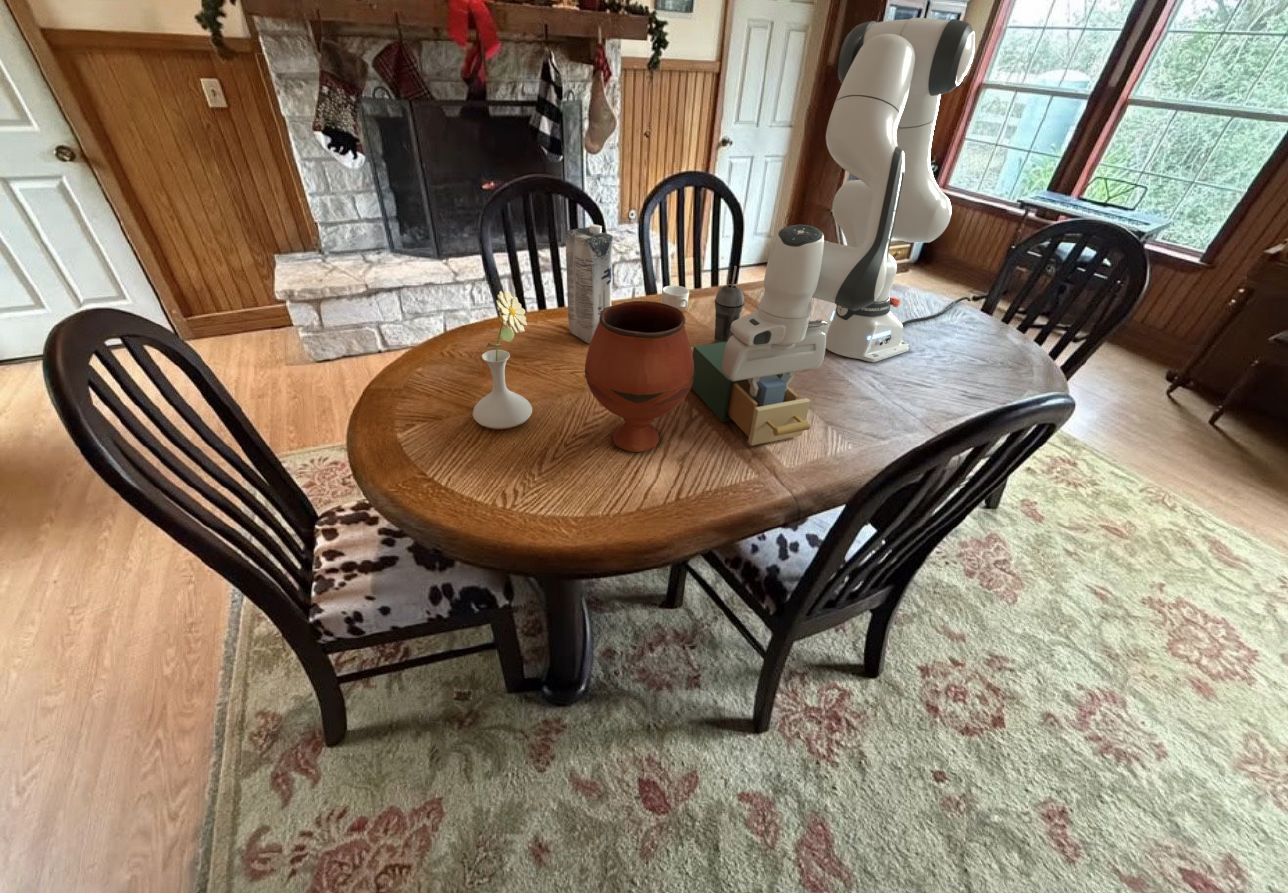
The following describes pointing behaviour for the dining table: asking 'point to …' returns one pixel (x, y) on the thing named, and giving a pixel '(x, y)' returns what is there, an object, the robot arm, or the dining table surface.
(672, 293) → the teacup
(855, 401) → the dining table surface
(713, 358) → the cabinet
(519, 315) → the flower in vase
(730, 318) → the beverage cup
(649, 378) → the goblet
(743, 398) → the drawer
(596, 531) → the dining table surface
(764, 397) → the block
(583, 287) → the juice carton
